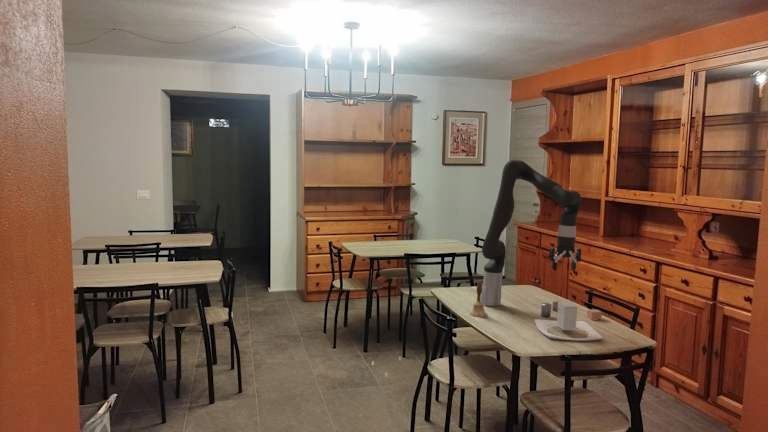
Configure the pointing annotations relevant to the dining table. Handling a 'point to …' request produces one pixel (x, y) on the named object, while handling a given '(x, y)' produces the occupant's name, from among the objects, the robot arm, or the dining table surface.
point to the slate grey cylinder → (546, 310)
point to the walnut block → (555, 306)
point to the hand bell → (478, 304)
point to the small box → (567, 315)
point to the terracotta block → (594, 314)
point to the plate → (545, 324)
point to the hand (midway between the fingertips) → (563, 270)
